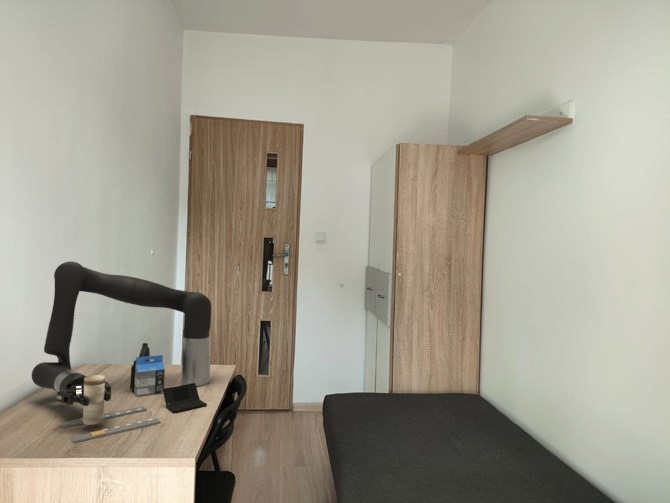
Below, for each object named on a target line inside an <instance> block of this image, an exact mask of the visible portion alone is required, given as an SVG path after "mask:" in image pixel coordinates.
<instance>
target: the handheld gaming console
mask: <svg viewBox="0 0 670 503" xmlns="http://www.w3.org/2000/svg"><path fill="white" fill-rule="evenodd" d="M197 387H198V386H196V384H195V383H191V384H186V385H182V384H181V385H177V386H171V387H167V388H165V387H164V389H163V393H162V394H163V397H164V402H165V405H166V407H165V409H166V410H168V411H170V412H171V413H172V414H174V415H175V413H176V414H179V413H184V412H188V411H193V410H197V409H201V408H206V407H207V405H208V404H207V402H205V401H203V400H201V398H200V395H199V392H198V388H197Z"/></svg>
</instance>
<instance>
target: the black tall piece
mask: <svg viewBox="0 0 670 503" xmlns="http://www.w3.org/2000/svg"><path fill="white" fill-rule="evenodd" d="M141 345H142V346H141V349H140V352H139V355H138V357H146V356H151V355H150V348H149V343H147V342H143V343H142V344H141ZM147 361H151V359H148V360H145V362H147ZM135 367H136V359H135V360H134V361H133V364H132V366H131V368H130V380H129V381H130V382H129V389H130V390H134V389H135Z"/></svg>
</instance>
